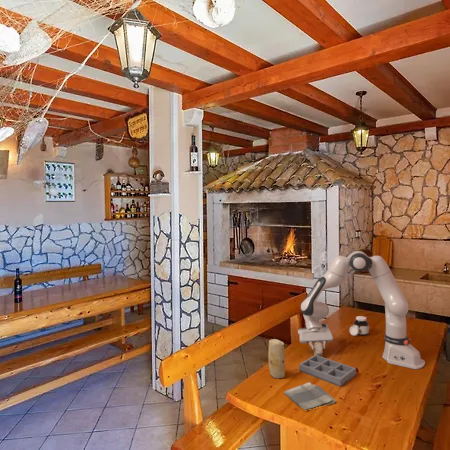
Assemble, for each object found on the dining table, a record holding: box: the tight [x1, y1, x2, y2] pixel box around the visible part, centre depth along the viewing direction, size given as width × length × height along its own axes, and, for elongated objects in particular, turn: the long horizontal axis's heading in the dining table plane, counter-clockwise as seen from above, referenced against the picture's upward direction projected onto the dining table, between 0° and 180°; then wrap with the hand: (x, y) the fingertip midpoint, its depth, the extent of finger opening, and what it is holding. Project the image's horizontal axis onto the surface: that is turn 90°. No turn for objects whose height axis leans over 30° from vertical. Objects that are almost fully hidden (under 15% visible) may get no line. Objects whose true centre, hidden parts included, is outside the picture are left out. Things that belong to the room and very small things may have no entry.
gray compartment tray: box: [298, 354, 357, 388], centre depth 198 cm, size 25×17×4 cm
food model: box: [267, 338, 286, 379], centre depth 196 cm, size 10×7×20 cm
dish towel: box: [283, 381, 337, 411], centre depth 174 cm, size 19×18×3 cm
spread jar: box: [348, 315, 370, 337], centre depth 253 cm, size 12×11×12 cm
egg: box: [313, 342, 323, 357], centre depth 218 cm, size 5×5×10 cm
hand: (318, 349), depth 217 cm, fingers closed on egg, 5 cm apart
